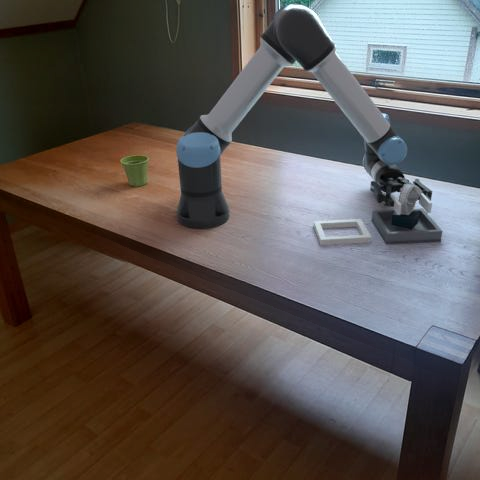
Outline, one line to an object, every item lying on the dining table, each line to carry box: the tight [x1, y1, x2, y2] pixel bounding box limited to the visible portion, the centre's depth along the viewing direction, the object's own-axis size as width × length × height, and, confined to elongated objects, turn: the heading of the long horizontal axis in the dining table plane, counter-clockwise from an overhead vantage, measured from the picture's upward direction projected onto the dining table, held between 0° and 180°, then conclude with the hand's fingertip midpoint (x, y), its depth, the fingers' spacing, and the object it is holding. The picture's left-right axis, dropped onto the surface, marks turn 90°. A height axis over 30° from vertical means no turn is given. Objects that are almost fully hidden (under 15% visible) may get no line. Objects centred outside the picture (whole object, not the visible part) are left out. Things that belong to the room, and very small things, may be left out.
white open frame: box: [313, 218, 372, 246], centre depth 137 cm, size 13×11×2 cm
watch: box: [391, 184, 421, 230], centre depth 134 cm, size 6×8×11 cm
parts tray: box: [371, 207, 443, 245], centre depth 137 cm, size 14×14×3 cm
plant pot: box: [120, 154, 150, 188], centre depth 174 cm, size 9×9×9 cm
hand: (414, 208), depth 129 cm, fingers closed on watch, 7 cm apart
